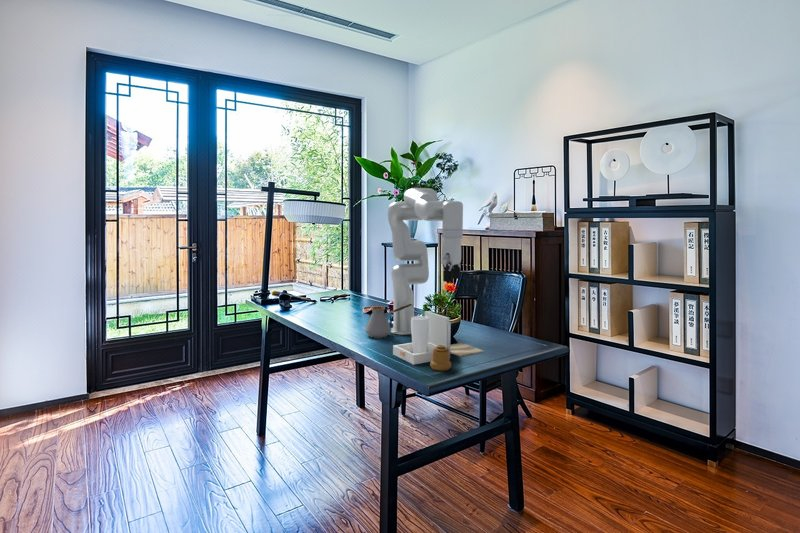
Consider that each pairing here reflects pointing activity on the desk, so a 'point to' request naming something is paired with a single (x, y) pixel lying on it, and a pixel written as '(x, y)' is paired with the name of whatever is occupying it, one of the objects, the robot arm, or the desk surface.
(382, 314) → the coffee pot
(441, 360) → the ornamental finial
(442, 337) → the open case
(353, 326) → the desk surface
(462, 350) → the wooden pad
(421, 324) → the drinking glass
